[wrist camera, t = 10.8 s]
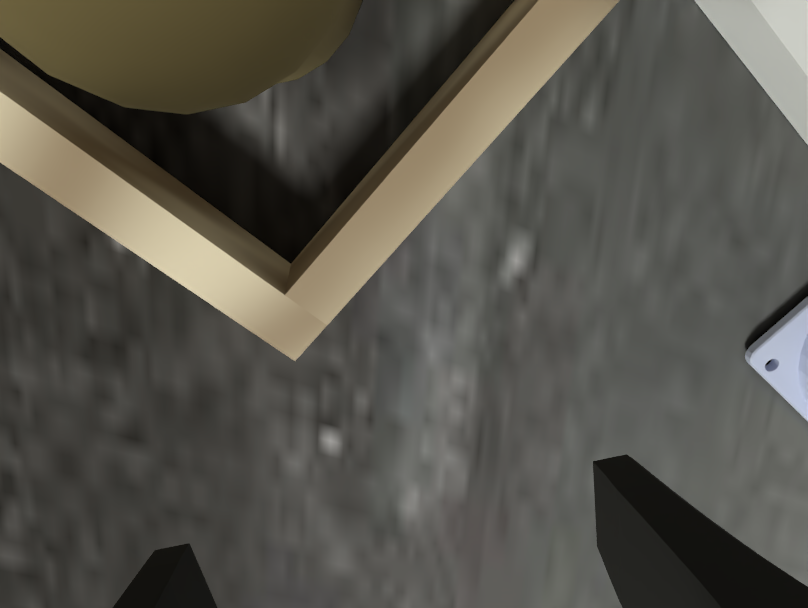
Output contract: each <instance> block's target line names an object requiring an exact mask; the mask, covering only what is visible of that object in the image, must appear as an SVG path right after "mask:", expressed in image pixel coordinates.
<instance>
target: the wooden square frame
mask: <svg viewBox="0 0 808 608" xmlns="http://www.w3.org/2000/svg"><path fill="white" fill-rule="evenodd" d="M618 2H619V0H514V2H513V3H512V4H511V5H510V6H509V7H508V9H507V10H506V11H505V12H504V13H503V15H502V16H501V17H500V18H499V19H498V20H497V22H496V23H495V24H494V25H493V26H492V28H491V29H490V30H489V31H488V32H487V33H486V35H485V36H484V37H483V38H482V39H481V40H480V42H479V43H478V44H477V45H476V46H475V48H474V49H473V50H472V51H471V52H470V53H469V55H468V56H467V57H466V58H465V59H464V61H463V62H462V63H461V64H460V65H459V66H458V68H457V69H456V70H455V71H454V72H453V73H452V75H451V76H450V77H449V78H448V79H447V81H446V82H445V83H444V84H443V85H442V86H441V88H440V89H439V90H438V91H437V92H436V93H435V95H434V96H433V97H432V98H431V99H430V101H429V102H428V103H427V104H426V105H425V106H424V108H423V109H422V110H421V111H420V112H419V114H418V115H417V116H416V117H415V118H414V119H413V121H412V122H411V123H410V124H409V125H408V126H407V128H406V129H405V130H404V131H403V132H402V134H401V135H400V136H399V137H398V138H397V139H396V141H395V142H394V143H393V144H392V145H391V147H390V148H389V149H388V150H387V151H386V152H385V154H384V155H383V156H382V157H381V158H380V159H379V161H378V162H377V163H376V164H375V165H374V167H373V168H372V169H371V170H370V171H369V172H368V174H367V175H366V176H365V177H364V178H363V180H362V181H361V182H360V183H359V184H358V185H357V187H356V188H355V189H354V190H353V191H352V192H351V194H350V195H349V196H348V197H347V198H346V200H345V201H344V202H343V203H342V204H341V205H340V207H339V208H338V209H337V210H336V211H335V212H334V214H333V215H332V216H331V217H330V218H329V220H328V221H327V222H326V223H325V224H324V225H323V227H322V228H321V229H320V230H319V231H318V233H317V234H316V235H315V236H314V237H313V238H312V240H311V241H310V242H309V243H308V244H307V245H306V247H305V248H304V249H303V250H302V251H301V253H300V254H299V255H298V256H297V257H296V258H295V260H294V261H293V262H292V263H291V264H290V263H289V262H288V261H286V260H285V259H284V258H282V257H281V256H280V255H278V254H277V253H276V252H274V251H273V250H272V249H270V248H269V247H267V246H266V245H265V244H263V243H262V242H261V241H259V240H258V239H257V238H255V237H254V236H253V235H251V234H250V233H249V232H247V231H246V230H244V229H243V228H242V227H240V226H239V225H238V224H236V223H235V222H234V221H232V220H231V219H230V218H228V217H227V216H226V215H224V214H223V213H222V212H220V211H219V210H217V209H216V208H215V207H213V206H212V205H211V204H209V203H208V202H207V201H205V200H204V199H203V198H201V197H200V196H199V195H197V194H196V193H194V192H193V191H192V190H190V189H189V188H188V187H186V186H185V185H184V184H182V183H181V182H180V181H178V180H177V179H176V178H174V177H173V176H172V175H170V174H169V173H167V172H166V171H165V170H163V169H162V168H161V167H159V166H158V165H157V164H155V163H154V162H153V161H151V160H150V159H149V158H147V157H146V156H144V155H143V154H142V153H140V152H139V151H138V150H136V149H135V148H134V147H132V146H131V145H130V144H128V143H127V142H126V141H124V140H123V139H121V138H120V137H119V136H117V135H116V134H115V133H113V132H112V131H111V130H109V129H108V128H107V127H105V126H104V125H103V124H101V123H100V122H99V121H97V120H96V119H94V118H93V117H92V116H90V115H89V114H88V113H86V112H85V111H84V110H82V109H81V108H80V107H78V106H77V105H76V104H74V103H73V102H71V101H70V100H69V99H67V98H66V97H65V96H63V95H62V94H61V93H59V92H58V91H57V90H55V89H54V88H53V87H51V86H50V85H49V84H47V83H46V82H44V81H43V80H42V79H40V78H39V77H38V76H36V75H35V74H34V73H32V72H31V71H30V70H28V69H27V68H26V67H24V66H23V65H21V64H20V63H19V62H17V61H16V60H15V59H13V58H12V57H11V56H9V55H8V54H7V53H5V52H4V51H3V50H1V49H0V162H1V163H2V164H3V165H5V166H6V167H8V168H9V169H11V170H12V171H14V172H15V173H17V174H18V175H20V176H21V177H23V178H24V179H26V180H27V181H29V182H30V183H32V184H33V185H35V186H36V187H38V188H39V189H41V190H42V191H43V192H45V193H46V194H48V195H49V196H51V197H52V198H54V199H55V200H57V201H58V202H60V203H61V204H63V205H64V206H66V207H67V208H69V209H70V210H72V211H73V212H75V213H76V214H78V215H79V216H81V217H82V218H84V219H85V220H86V221H88V222H89V223H91V224H92V225H94V226H95V227H97V228H98V229H100V230H101V231H103V232H104V233H106V234H107V235H109V236H110V237H112V238H113V239H115V240H116V241H118V242H119V243H121V244H122V245H124V246H125V247H127V248H128V249H129V250H131V251H132V252H134V253H135V254H137V255H138V256H140V257H141V258H143V259H144V260H146V261H147V262H149V263H150V264H152V265H153V266H155V267H156V268H158V269H159V270H161V271H162V272H164V273H165V274H167V275H168V276H169V277H171V278H172V279H174V280H175V281H177V282H178V283H180V284H181V285H183V286H184V287H186V288H187V289H189V290H190V291H192V292H193V293H195V294H196V295H198V296H199V297H201V298H202V299H204V300H205V301H207V302H208V303H210V304H211V305H212V306H214V307H215V308H217V309H218V310H220V311H221V312H223V313H224V314H226V315H227V316H229V317H230V318H232V319H233V320H235V321H236V322H238V323H239V324H241V325H242V326H244V327H245V328H247V329H248V330H250V331H251V332H253V333H254V334H255V335H257V336H258V337H260V338H261V339H263V340H264V341H266V342H267V343H269V344H270V345H272V346H273V347H275V348H276V349H278V350H279V351H281V352H282V353H284V354H285V355H287V356H288V357H290V358H291V359H293V360H294V361H296V359H297V358H298V357H299V356H300V355H301V354H302V353H303V352H304V351H305V349H306V348H307V347H308V346H309V345H310V344H311V343H312V342H313V341H314V339H315V338H316V337H317V336H318V335H319V334H320V333H321V332H322V331H323V329H324V328H325V327H326V326H327V325H328V324H329V323H330V322H331V321H332V319H333V318H334V317H335V316H336V315H337V314H338V313H339V312H340V311H341V309H342V308H343V307H344V306H345V305H346V304H347V303H348V302H349V301H350V299H351V298H352V297H353V296H354V295H355V294H356V293H357V292H358V291H359V289H360V288H361V287H362V286H363V285H364V284H365V283H366V282H367V281H368V279H369V278H370V277H371V276H372V275H373V274H374V273H375V272H376V271H377V269H378V268H379V267H380V266H381V265H382V264H383V263H384V262H385V261H386V259H387V258H388V257H389V256H390V255H391V254H392V253H393V252H394V251H395V249H396V248H397V247H398V246H399V245H400V244H401V243H402V242H403V241H404V239H405V238H406V237H407V236H408V235H409V234H410V233H411V232H412V230H413V229H414V228H415V227H416V226H417V225H418V224H419V223H420V222H421V220H422V219H423V218H424V217H425V216H426V215H427V214H428V213H429V212H430V210H431V209H432V208H433V207H434V206H435V205H436V204H437V203H438V202H439V200H440V199H441V198H442V197H443V196H444V195H445V194H446V193H447V192H448V190H449V189H450V188H451V187H452V186H453V185H454V184H455V183H456V182H457V180H458V179H459V178H460V177H461V176H462V175H463V174H464V173H465V172H466V170H467V169H468V168H469V167H470V166H471V165H472V164H473V163H474V162H475V160H476V159H477V158H478V157H479V156H480V155H481V154H482V153H483V152H484V150H485V149H486V148H487V147H488V146H489V145H490V144H491V143H492V142H493V140H494V139H495V138H496V137H497V136H498V135H499V134H500V133H501V132H502V130H503V129H504V128H505V127H506V126H507V125H508V124H509V123H510V122H511V120H512V119H513V118H514V117H515V116H516V115H517V114H518V113H519V112H520V110H521V109H522V108H523V107H524V106H525V105H526V104H527V103H528V102H529V100H530V99H531V98H532V97H533V96H534V95H535V94H536V93H537V92H538V90H539V89H540V88H541V87H542V86H543V85H544V84H545V83H546V82H547V80H548V79H549V78H550V77H551V76H552V75H553V74H554V73H555V72H556V70H557V69H558V68H559V67H560V66H561V65H562V64H563V63H564V62H565V60H566V59H567V58H568V57H569V56H570V55H571V54H572V53H573V52H574V50H575V49H576V48H577V47H578V46H579V45H580V44H581V43H582V42H583V40H584V39H585V38H586V37H587V36H588V35H589V34H590V33H591V32H592V30H593V29H594V28H595V27H596V26H597V25H598V24H599V23H600V22H601V20H602V19H603V18H604V17H605V16H606V15H607V14H608V13H609V12H610V10H611V9H612V8H613V7H614V6H615V5H616V4H617V3H618Z"/></svg>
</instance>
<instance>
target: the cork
mask: <svg viewBox="0 0 808 608" xmlns="http://www.w3.org/2000/svg"><path fill="white" fill-rule="evenodd" d="M362 1H363V0H0V37H1V38H2V39H3V40H4V41H6V42H7V43H8V44H10V45H11V46H12V47H13V48H15V49H16V50H17V51H19V52H20V53H21V54H22V55H24V56H25V57H26V58H27V59H29V60H30V61H31V62H33V63H34V64H35V65H36V66H38V67H39V68H40V69H42V70H43V71H44V72H45V73H47V74H48V75H50V76H52V77H55V78H57V79H59V80H62V81H64V82H66V83H69V84H71V85H73V86H76V87H78V88H80V89H83V90H85V91H87V92H90V93H92V94H94V95H97V96H99V97H101V98H104V99H106V100H109V101H111V102H113V103H116V104H118V105H120V106H123V107H125V108H134V109H143V110H151V111H160V112H169V113H178V114H186V115H188V114H193V113H197V112H202V111H207V110H212V109H216V108H221V107H226V106H231V105H235V104H240V103H245V102H247V101H249V100H250V99H252V98H254V97H255V96H257V95H258V94H260V93H262V92H263V91H265V90H267V89H268V88H270V87H272V86H273V85H275V84H277V83H282V82H287V81H291V80H296V79H299V78H301V77H302V76H304V75H305V74H307V73H309V72H310V71H312V70H314V69H315V68H317V67H319V66H320V65H322V64H324V63H325V62H327V61H328V59H329V58H330V57H331V56H332V55H333V53H334V52H335V51H336V50H337V49H338V47H339V46H340V45H341V44H342V43H343V41H344V40H345V39H346V38H347V37H348V35H349V34H350V31H351V29H352V26H353V24H354V21H355V19H356V16H357V14H358V11H359V9H360V6H361V3H362Z"/></svg>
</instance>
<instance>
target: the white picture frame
mask: <svg viewBox="0 0 808 608" xmlns="http://www.w3.org/2000/svg"><path fill="white" fill-rule="evenodd" d="M695 2H696V3H697V4H698V6H699V7H700V8H701V9H702V11H703V12H704V13H705V15H706V16H707V17H708V18H709V20H710V21H711V22H712V23H713V25H714V26H715V27H716V29H717V30H718V31H719V32H720V34H721V35H722V36H723V38H724V39H725V40H726V41H727V43H728V44H729V45H730V46H731V48H732V49H733V50H734V52H735V53H736V54H737V55H738V57H739V58H740V59H741V60H742V62H743V63H744V64H745V66H746V67H747V68H748V69H749V71H750V72H751V73H752V75H753V76H754V77H755V78H756V80H757V81H758V82H759V83H760V85H761V86H762V87H763V89H764V90H765V91H766V92H767V94H768V95H769V96H770V98H771V99H772V100H773V101H774V103H775V104H776V105H777V106H778V108H779V109H780V110H781V112H782V113H783V114H784V115H785V117H786V118H787V119H788V120H789V122H790V123H791V124H792V126H793V127H794V128H795V129H796V131H797V132H798V133H799V135H800V136H801V137H802V138H803V140H804V141H805V142H806V143H807V145H808V0H695Z"/></svg>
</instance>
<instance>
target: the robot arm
mask: <svg viewBox="0 0 808 608" xmlns="http://www.w3.org/2000/svg"><path fill="white" fill-rule="evenodd" d="M745 359H746V361H747V362H748V363H749V364H750V365H751V366H752V367H753V368H754V369H755V370H756V371H757V372H758V373H759V374H760V375H761V376H762V377H763V378H764V379H765V380H766V381H767V382H768V383H769V384H770V385H771V386H772V387H773V388H774V389H775V390H776V391H777V392H778V393H779V394H780V395H781V396H782V397H783V398H784V399H785V400H786V401H787V402H788V403H789V404H790V405H791V406H792V407H793V408H794V409H795V410H796V411H798V412H799V413H800V414H801V415H802V416H803V417H804V418H805V419H806V420H807V421H808V296H807V297H806V298H805V299H804V300H803V301H802V302H800V303H799V304H798V305H797V306H796V307H795V308H794V309H792V310H791V311H790V312H789V313H788V314H787V315H785V316H784V317H783V318H782V319H781V320H780V321H779V322H777V323H776V324H775V325H774V326H773V327H772V328H770V329H769V330H768V331H767V332H766V333H765V334H763V335H762V336H761V337H760V338H759V339H758V340H757V341H755V342H754V343H753V344H752V345H751V346H750V347H749V348H748V349H747V351H746V354H745ZM771 359H772V360H771ZM769 360H771V362H770V363H769V364H768V365H766V366H765V364H766V363H767V362H768V361H769ZM593 472H594V492H595V512H596V532H597V547H598V549H599V552H600V554H601V557H602V559H603V562H604V565H605V567H606V570H607V572H608V575H609V577H610V579H611V582H612V584H613V587H614V589H615V591H616V594H617V596H618V599H619V601H620V603H621V605H622V607H623V608H808V587H807V586H806V585H804V584H802V583H801V582H799V581H798V580H796V579H795V578H793V577H792V576H790V575H789V574H787V573H786V572H784V571H783V570H781V569H780V568H778V567H777V566H775V565H774V564H772V563H771V562H769V561H768V560H766V559H765V558H763V557H762V556H760V555H759V554H757V553H756V552H754V551H753V550H752V549H750V548H749V547H747V546H746V545H744V544H743V543H742V542H740V541H739V540H738V539H736V538H735V537H733V536H732V535H731V534H729V533H728V532H727V531H725V530H724V529H722V528H721V527H720V526H718V525H717V524H716V523H714V522H713V521H712V520H710V519H709V518H707V517H706V516H705V515H703V514H702V513H701V512H700V511H698V510H697V509H696V508H694V507H693V506H692V505H690V504H689V503H688V502H687V501H685V500H684V499H683V498H681V497H680V496H679V495H678V494H676V493H675V492H674V491H672V490H671V489H670V488H669V487H667V486H666V485H665V484H664V483H662V482H661V481H660V480H659V479H657V478H656V477H655V476H654V475H652V474H651V473H650V472H649V471H648V470H646V469H645V468H644V467H643V466H641V465H640V464H639V463H638V462H636V461H635V460H634V459H633V458H631V457H630V456H628V455H622V456H617V457H612V458H607V459H602V460H597V461H593ZM113 608H217V606H216V604H215V601H214V599H213V597H212V594H211V592H210V590H209V587H208V585H207V583H206V581H205V578H204V576H203V574H202V571H201V569H200V567H199V564H198V562H197V560H196V557H195V555H194V553H193V551H192V548H191V546H190V544H184V545H179V546H174V547H169V548H164V549H159V550H155V551H154V552H153V554H152V555H151V556H150V558H149V559H148V560H147V562H146V563H145V564H144V566H143V567H142V568H141V570H140V571H139V572H138V574H137V575H136V577H135V578H134V579H133V581H132V582H131V583H130V585H129V586H128V587H127V589H126V590H125V592H124V593H123V594H122V596H121V597H120V598H119V600H118V601H117V603H116V604H115V605H114V607H113Z"/></svg>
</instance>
